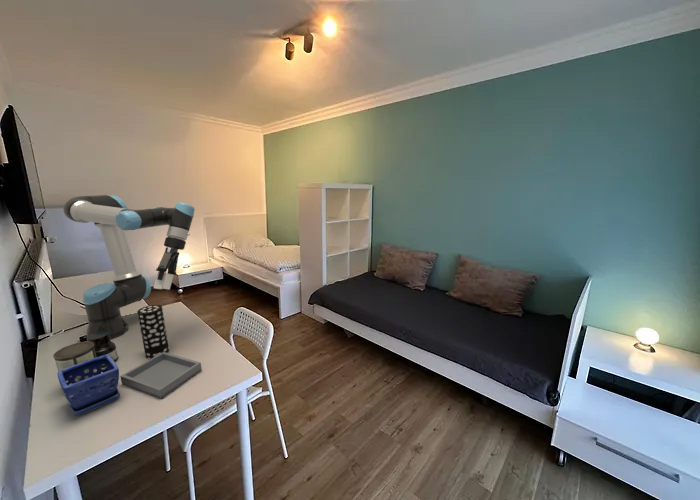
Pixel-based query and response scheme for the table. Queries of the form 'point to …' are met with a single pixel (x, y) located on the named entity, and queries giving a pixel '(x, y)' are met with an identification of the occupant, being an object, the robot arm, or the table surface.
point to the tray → (161, 374)
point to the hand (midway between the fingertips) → (162, 289)
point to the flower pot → (90, 384)
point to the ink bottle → (103, 345)
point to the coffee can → (75, 356)
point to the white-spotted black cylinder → (153, 330)
